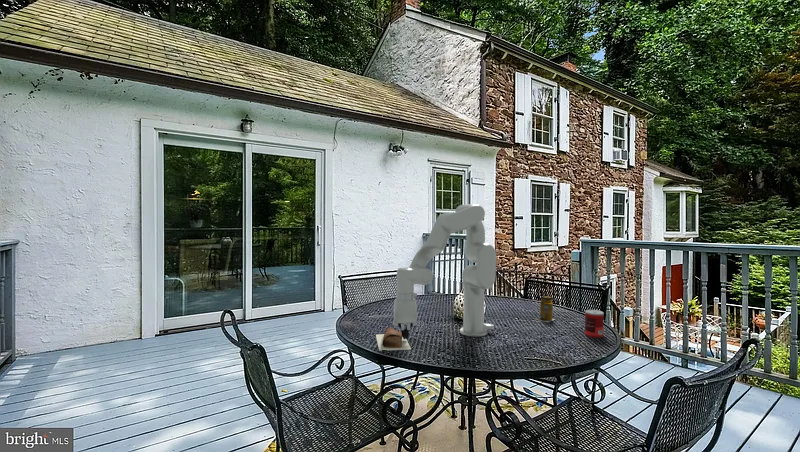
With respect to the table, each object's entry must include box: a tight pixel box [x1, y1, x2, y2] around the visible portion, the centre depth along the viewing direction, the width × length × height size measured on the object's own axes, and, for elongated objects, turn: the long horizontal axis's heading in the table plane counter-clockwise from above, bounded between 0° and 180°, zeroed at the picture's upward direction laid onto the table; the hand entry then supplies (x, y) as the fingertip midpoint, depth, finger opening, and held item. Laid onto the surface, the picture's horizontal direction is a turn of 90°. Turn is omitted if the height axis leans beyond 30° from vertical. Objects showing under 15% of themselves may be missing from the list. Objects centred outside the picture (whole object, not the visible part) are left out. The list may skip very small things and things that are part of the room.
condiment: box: [535, 295, 556, 323], centre depth 208 cm, size 7×8×12 cm
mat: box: [375, 333, 412, 352], centre depth 171 cm, size 13×21×1 cm, turn 8°
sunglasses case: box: [382, 326, 402, 348], centre depth 172 cm, size 18×7×7 cm
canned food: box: [584, 309, 605, 339], centre depth 181 cm, size 8×8×11 cm
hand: (405, 338), depth 172 cm, fingers closed
